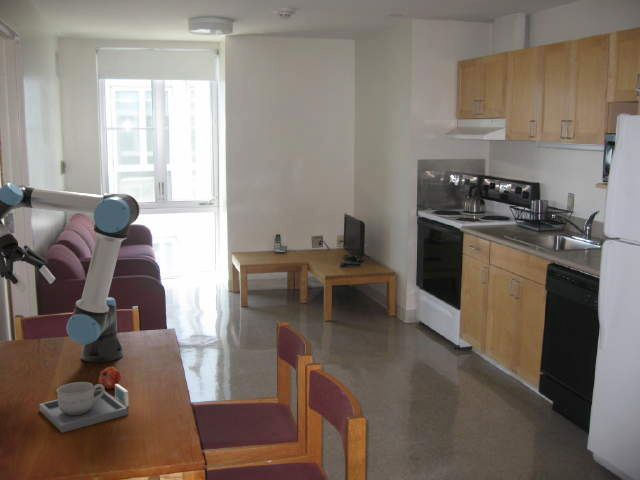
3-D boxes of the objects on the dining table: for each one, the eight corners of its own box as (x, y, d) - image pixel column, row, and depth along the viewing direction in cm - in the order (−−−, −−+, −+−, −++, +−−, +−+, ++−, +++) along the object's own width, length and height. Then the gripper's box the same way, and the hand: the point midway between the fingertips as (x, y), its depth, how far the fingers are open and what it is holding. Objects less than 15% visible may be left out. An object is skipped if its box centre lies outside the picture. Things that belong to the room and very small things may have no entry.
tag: (118, 398, 225) (117, 383, 224) (128, 406, 219) (128, 391, 218) (114, 399, 224) (113, 384, 223) (124, 407, 218) (124, 392, 217)
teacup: (56, 420, 207) (54, 395, 205) (59, 406, 217) (58, 382, 216) (105, 415, 210) (103, 390, 209) (106, 401, 221) (104, 377, 219)
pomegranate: (107, 388, 239) (88, 379, 231) (117, 369, 241) (99, 359, 233) (121, 395, 235) (102, 386, 227) (132, 376, 237) (113, 366, 229)
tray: (102, 394, 228) (101, 388, 227) (127, 414, 212) (127, 407, 212) (39, 410, 215) (39, 403, 215) (62, 432, 200) (61, 425, 199)
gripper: (23, 241, 255) (58, 284, 252) (-33, 253, 232) (5, 300, 229) (33, 228, 252) (69, 271, 250) (-22, 238, 229) (17, 286, 227)
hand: (38, 285), depth 240 cm, fingers open, 13 cm apart
